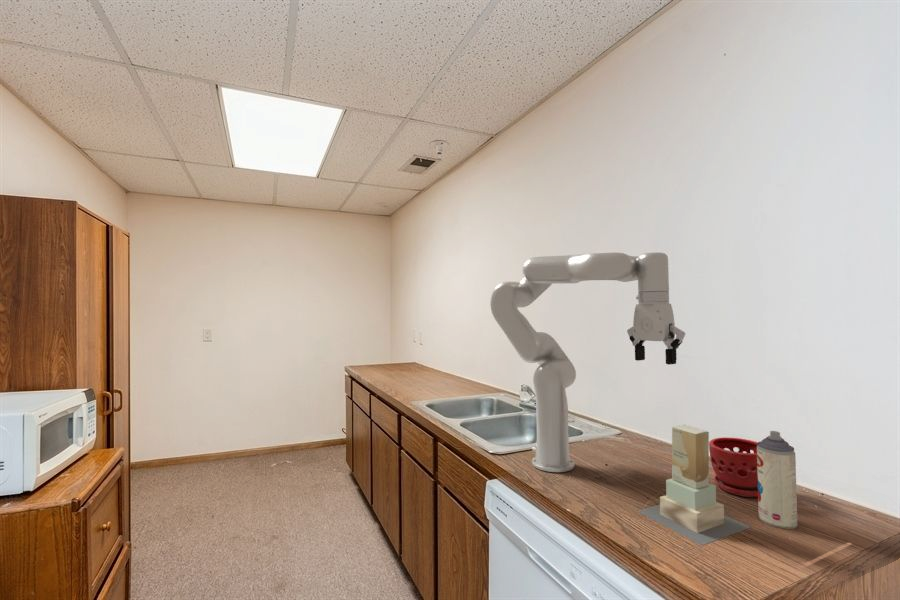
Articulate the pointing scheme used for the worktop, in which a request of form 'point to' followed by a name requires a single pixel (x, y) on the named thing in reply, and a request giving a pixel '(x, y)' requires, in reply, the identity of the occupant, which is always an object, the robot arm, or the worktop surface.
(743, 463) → the plant pot
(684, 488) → the top block
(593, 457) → the worktop surface
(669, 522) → the mat
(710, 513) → the base block
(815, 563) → the worktop surface
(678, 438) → the skincare box
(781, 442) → the aerosol can
